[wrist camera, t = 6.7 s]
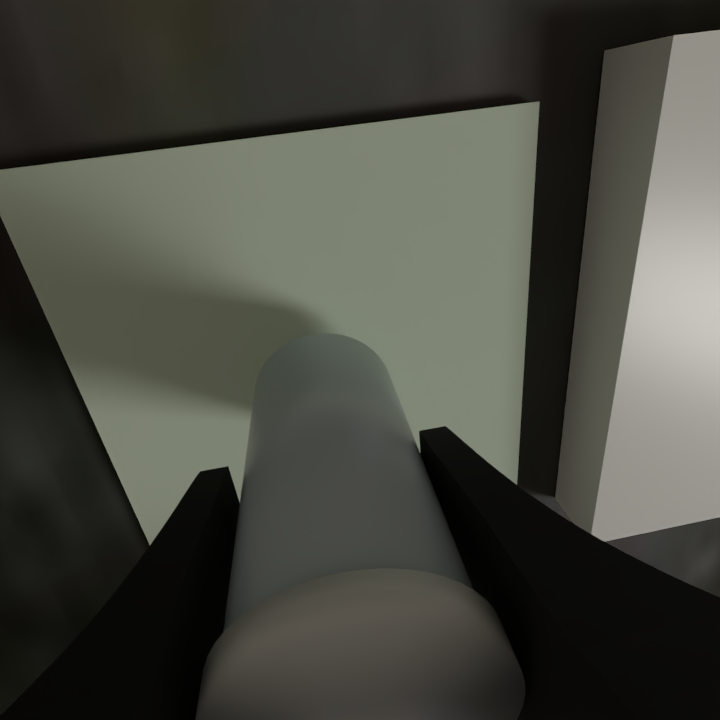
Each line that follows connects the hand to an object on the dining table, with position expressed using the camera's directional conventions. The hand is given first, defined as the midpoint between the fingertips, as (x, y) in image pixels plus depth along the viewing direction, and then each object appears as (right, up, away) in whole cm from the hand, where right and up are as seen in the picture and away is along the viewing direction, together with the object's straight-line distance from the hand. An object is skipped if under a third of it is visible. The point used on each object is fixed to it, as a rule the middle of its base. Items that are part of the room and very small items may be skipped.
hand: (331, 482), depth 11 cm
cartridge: (0, +2, +3) cm, 4 cm away
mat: (-1, +2, +5) cm, 6 cm away
